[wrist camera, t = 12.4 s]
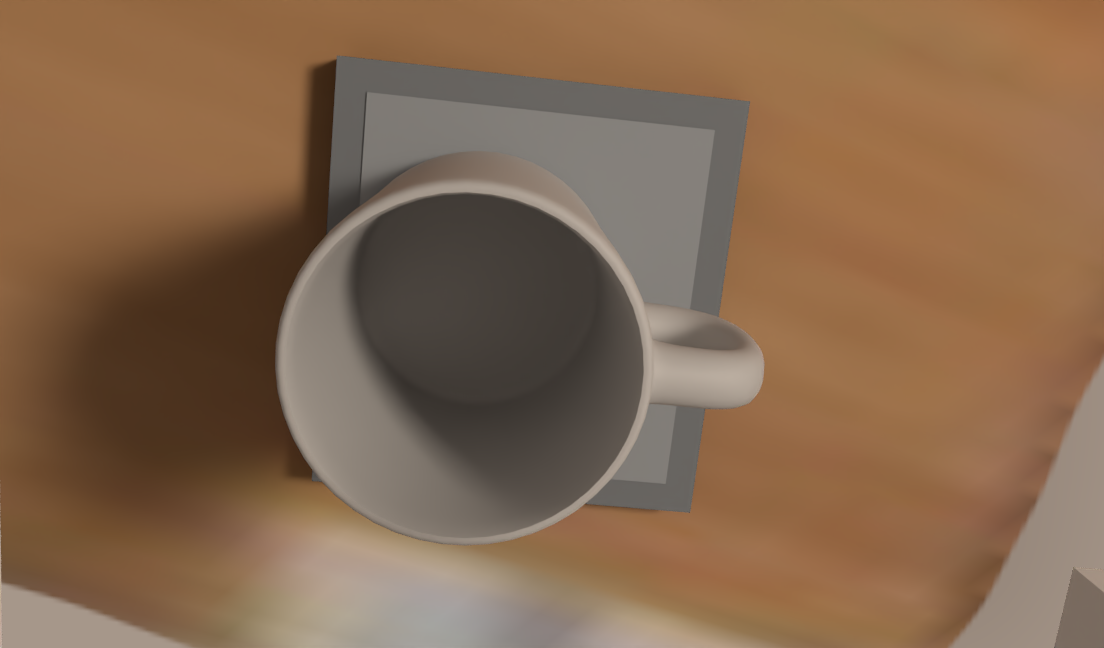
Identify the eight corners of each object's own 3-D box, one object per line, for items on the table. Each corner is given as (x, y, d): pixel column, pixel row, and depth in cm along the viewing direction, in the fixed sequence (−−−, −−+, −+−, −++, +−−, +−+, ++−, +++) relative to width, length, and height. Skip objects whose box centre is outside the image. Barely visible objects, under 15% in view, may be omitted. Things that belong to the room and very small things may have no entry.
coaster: (318, 468, 35) (311, 481, 34) (343, 57, 32) (336, 55, 31) (683, 499, 36) (690, 513, 35) (741, 101, 33) (750, 101, 32)
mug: (335, 391, 33) (253, 529, 23) (361, 131, 32) (286, 148, 21) (690, 434, 34) (773, 588, 23) (735, 185, 32) (847, 227, 22)
